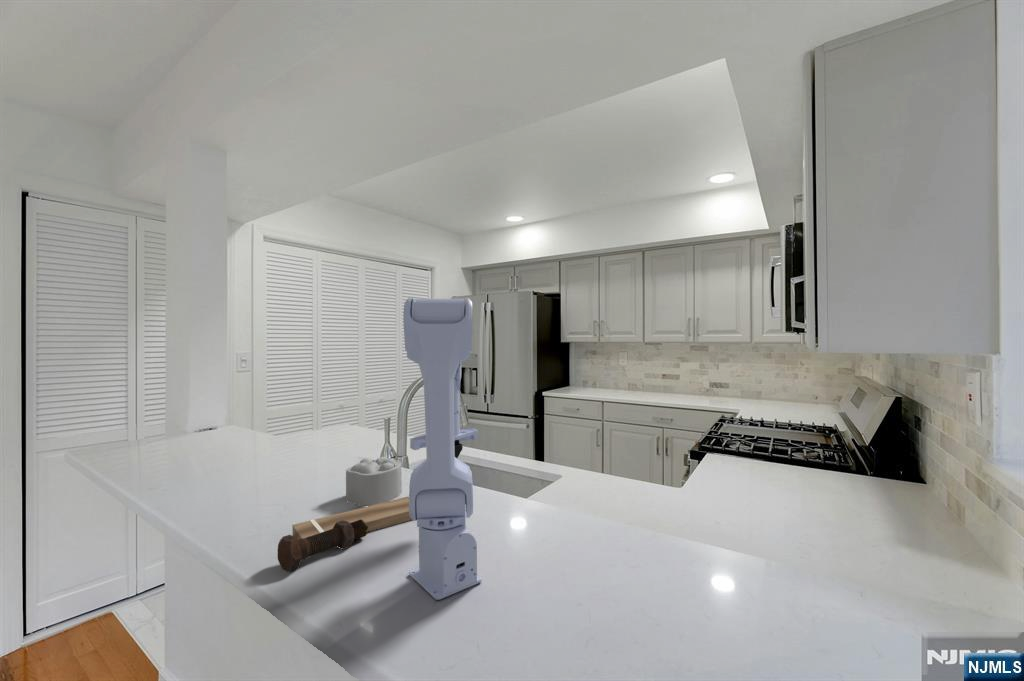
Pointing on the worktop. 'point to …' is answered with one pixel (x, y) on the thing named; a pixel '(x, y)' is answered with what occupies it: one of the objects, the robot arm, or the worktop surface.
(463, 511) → the robot arm
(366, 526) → the bolt
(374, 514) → the walnut board
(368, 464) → the lumpy-topped squat cylinder
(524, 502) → the worktop surface
